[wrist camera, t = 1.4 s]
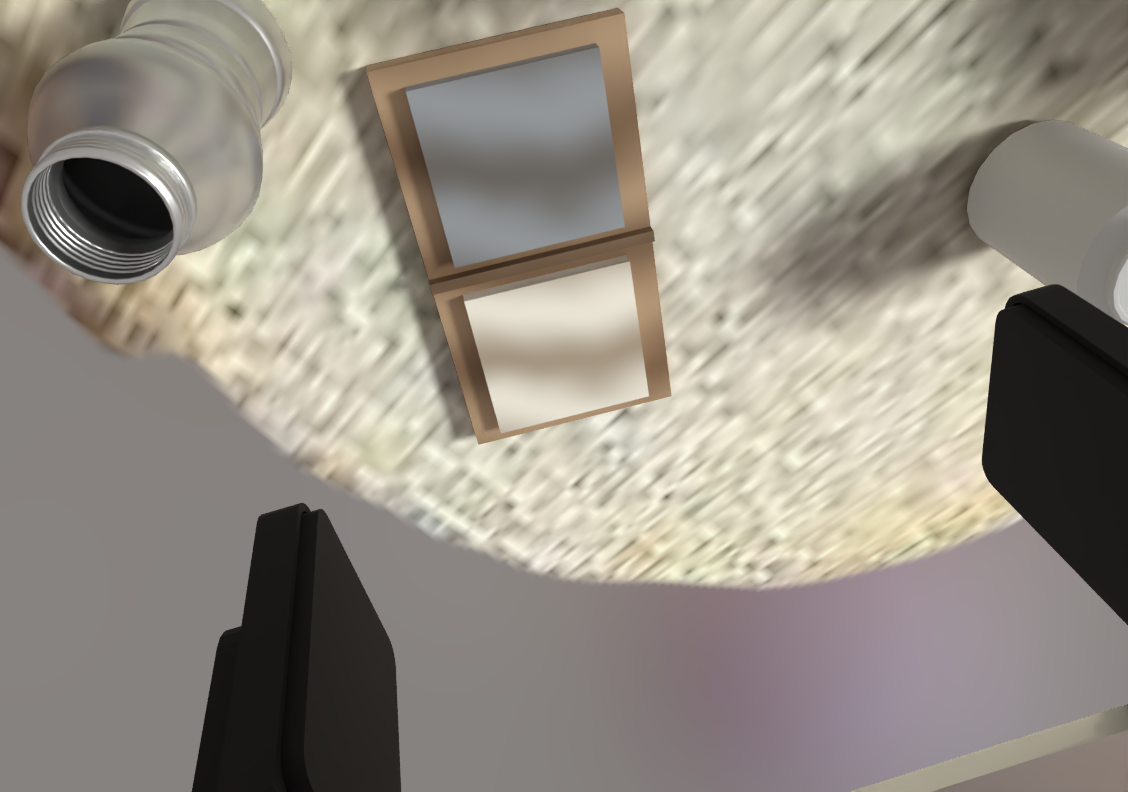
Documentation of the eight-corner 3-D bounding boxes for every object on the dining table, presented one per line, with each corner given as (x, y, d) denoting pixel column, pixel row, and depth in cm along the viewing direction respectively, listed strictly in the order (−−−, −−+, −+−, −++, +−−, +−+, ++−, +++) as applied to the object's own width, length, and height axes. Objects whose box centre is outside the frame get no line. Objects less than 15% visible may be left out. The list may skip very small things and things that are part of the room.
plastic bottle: (177, -75, 35) (7, 25, 19) (325, 31, 38) (287, 194, 22) (109, 57, 37) (-96, 248, 21) (254, 146, 41) (172, 372, 24)
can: (979, 264, 52) (1119, 369, 42) (941, 170, 48) (1085, 262, 38) (1095, 190, 51) (1266, 282, 41) (1065, 86, 46) (1248, 160, 37)
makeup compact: (366, 65, 39) (366, 76, 38) (618, 7, 40) (628, 16, 38) (476, 432, 52) (479, 452, 51) (666, 385, 53) (675, 403, 51)
